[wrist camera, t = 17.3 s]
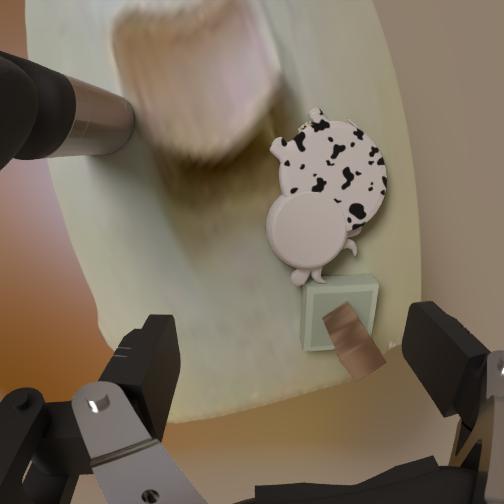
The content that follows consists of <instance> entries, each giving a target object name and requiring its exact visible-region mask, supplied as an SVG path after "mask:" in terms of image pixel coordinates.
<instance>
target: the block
mask: <svg viewBox="0 0 504 504" xmlns="http://www.w3.org/2000/svg"><path fill="white" fill-rule="evenodd" d="M322 320H323V322H324V324H325V326H326V329H327V331H328V333H329V336H330V338H331V340H332V343H333V345H334V347H335V350H336V352H337V355H338V357H339V359H340V362H341V363H342V364H343V366H344V367H345V368H346V369H347V371H348V372H349V373H350V374H351V376H352V377H353V378H354V380H355V381H356V382H357V381H359V380H361V379H362V378H364V377H365V376H367V375H369V374H370V373H372V372H373V371H375V370H376V369H378V368H379V367H381V366H382V365H384V364H385V363H386V361H385V359H384V358H383V356H382V354H381V353H380V351H379V349H378V348H377V346H376V345H375V343H374V341H373V340H372V338H371V337H370V335H369V333H368V332H367V330H366V329H365V327H364V325H363V324H362V322H361V321H360V319H359V318H358V316H357V315H356V313H355V312H354V310H353V309H352V307H351V306H350V304H349V303H348V301H346V302H344V303H343V304H342V305H340V306H339V307H337V308H336V309H334V310H333V311H331V312H330V313H328V314H327V315H325V316H324V317H322Z"/></svg>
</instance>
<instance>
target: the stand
mask: <svg viewBox="0 0 504 504" xmlns="http://www.w3.org/2000/svg"><path fill="white" fill-rule="evenodd" d="M321 277H322V279H323V280H325V281H326V282H327V283H318V282H316V281H315V280H314V279H313V278H312V277H308V279H307V281H306V283H305V284H303V285H302V307H301V327H300V340H301V344H302V348H303V351H304V352H306V351H320V350H332V349H335V347H334V345H333V343H332V340H331V338H330V336H329V333H328V331H327V329H326V326H325V324H324V322H323V320H322V317H324V316H325V315H327V314H328V313H330V312H331V311H333V310H334V309H336V308H337V307H339V306H340V305H342V304H343V303H344V302H346V301H348V303H349V304H350V306H351V307H352V309H353V310H354V312H355V313H356V315H357V316H358V318H359V319H360V321H361V322H362V324H363V325H364V327H365V329H366V330H367V332H368V333H369V335H370V337H371V334H372V328H373V322H374V316H375V309H376V303H377V295H378V288H379V283H378V282H377V281H376V280H375V279H374V278H373V277H372V276H371V275H370V274H358V275H337V276H321Z"/></svg>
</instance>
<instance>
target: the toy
mask: <svg viewBox="0 0 504 504" xmlns="http://www.w3.org/2000/svg"><path fill="white" fill-rule="evenodd" d="M308 115H309V118H310V119H311V121H309V122H307V123H305V124H303V125H302V126H301V127H300V128H299V129H298V130H299V134H298V135H297V136H296V137H294V138H293V139H292V140H291V141H289V142H286V141H285V140H284V139H283V138H282V137H279V138H277V139H275V140H274V141H273V143H272V146H271V148H270V152H271V153H272V154H273V155H275V156H276V157H277V158H278V159H279V160H280V162H281V163H280V168H279V181H280V187H281V191H282V195H281V196H279V197H278V198H277V199H276V201H275V202H274V203H273V205H272V206H271V208H270V210H269V212H268V215H267V219H266V228H265V229H266V236H267V240H268V243H269V245H270V247H271V249H272V250H273V252H274V253H275V254H276V256H277V257H278V258H280V259H281V260H282V261H283V262H284V263H286V264H288V265H290V266H292V267H295V268H297V269H296V270H294V271H293V272H292V273H291V275H290V280H291V282H292V283H293V284H294V285H296V286H301V285H303V284H305V283H306V281H307V279H308V277H309V275H310V274H311V276H312V278H313V279H314V280H315V281H316V282H318V283H327V282H326V281H325V280H323V279H322V277H321V271H322V268H323V266H324V265H325V264H327V263H329V262H330V261H331V260H332V259H334V258H335V257H336V256H337V255H338V253H339V252H340V251H341V250H342V249H346V248H349V249H350V250H351V251H352V253H353V255H354V256H356V254H357V247H356V244H355V242H354V241H353V240H351V239H348V238H349V237H353V236H356V235H358V234H359V233H360V232H361V230H362V226H363V225H364V224H366V223H367V222H368V221H369V220H370V219H371V218H372V217H373V216H374V215H375V214H376V212H377V211H378V209H379V208H380V206H381V204H382V201H383V199H384V196H385V191H386V185H387V175H386V167H385V164H384V160H383V157H382V155H381V153H380V151H379V149H378V148H377V146H376V145H375V143H374V142H373V141H372V140H371V139H370V137H369V136H368V135H366V134H365V133H364V132H363V131H362V130H361V129H360V128H359V127H358V126H357V125H356V124H354V123H353V122H352V121H351V120H350V119H348V118H347V119H348V120H349V121H350V123H351V124H352V125H350V124H348V123H345V122H340V121H329V120H327V118H326V117H325V115H324V114H323V112H322V111H321V110H320V109H319V108H314V109H313V110H311V111H310V112H309V114H308Z"/></svg>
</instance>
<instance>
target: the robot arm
mask: <svg viewBox="0 0 504 504" xmlns="http://www.w3.org/2000/svg"><path fill="white" fill-rule="evenodd" d="M133 127H134V113H133V110H132V107H131V106H130V104H129V103H128V102H127V101H126V100H125V99H124V98H122V97H121V96H119V95H116V94H114V93H111V92H109V91H107V90H104V89H101V88H99V87H96V86H94V85H91V84H89V83H86V82H83V81H81V80H78V79H75V78H72V77H69V76H66V75H64V74H61V73H59V72H56V71H53V70H51V69H48V68H46V67H44V66H41V65H39V64H37V63H34V62H32V61H29V60H26V59H23V58H20V57H17V56H14V55H11V54H8V53H5V52H2V51H0V170H1V169H2V168H4V166H5V165H7V163H8V162H9V161H10V160H11V159H12V158H15V159H19V160H34V159H41V158H53V157H64V156H79V155H100V154H110V153H113V152H115V151H117V150H118V149H120V148H121V147H122V146H123V145H124V144H125V143H126V142H127V141H128V139H129V138H130V136H131V134H132V131H133ZM402 353H403V356H404V358H405V360H406V361H407V362H408V364H409V365H410V367H411V368H412V370H413V371H414V373H415V374H416V375H417V377H418V379H419V380H420V382H421V383H422V385H423V386H424V388H425V389H426V391H427V392H428V394H429V395H430V396H431V398H432V400H433V401H434V403H435V404H436V406H437V407H438V409H439V411H440V412H441V414H442V415H443V417H444V418H445V417H448V416H452V415H455V414H459V416H460V417H461V418H460V420H459V422H458V425H457V430H456V435H455V440H454V444H453V449H452V453H451V457H450V461H449V464H448V466H438V464H437V462H436V460H435V458H434V456H430V457H426V458H423V459H420V460H416V461H413V462H409V463H406V464H402V465H398V466H395V467H393V468H391V469H389V470H387V471H385V472H383V473H381V474H379V475H377V476H375V477H373V478H370V479H368V480H366V481H364V482H361V483H359V484H356V485H329V484H314V483H295V484H282V485H262V486H255V498H251V499H247V500H243V501H240V502H237V503H234V504H504V351H502V350H498V351H493V352H490V351H489V350H488V349H487V348H486V347H485V346H484V345H483V344H482V343H481V342H480V341H479V340H478V339H477V338H476V337H474V335H473V334H470V332H469V331H468V330H467V329H466V328H464V327H463V325H462V324H461V323H460V322H459V321H458V320H457V319H455V318H453V317H451V316H450V315H448V314H446V313H445V312H444V311H442V309H440V308H439V307H438V306H437V305H436V304H435V303H434V302H433V301H425V302H416V303H412V304H411V305H410V307H409V311H408V316H407V321H406V326H405V331H404V335H403V339H402ZM180 365H181V361H180V351H179V345H178V339H177V333H176V326H175V320H174V317H173V315H153V314H151V315H149V316H148V318H147V320H146V322H145V323H144V325H143V327H142V329H134V330H132V331H131V332H130V333H128V334H127V335H126V336H124V337H123V339H122V341H121V342H120V344H119V346H118V348H117V349H116V351H115V352H114V356H113V357H112V358H111V359H110V361H109V363H108V364H107V366H106V368H105V370H104V371H103V373H102V375H101V377H100V379H99V380H98V382H94V383H90V384H87V385H85V386H83V387H81V388H80V389H79V390H78V391H77V392H76V393H75V394H74V396H73V398H72V401H66V402H51V403H46V402H45V400H44V398H43V396H42V394H41V393H40V392H39V391H38V390H36V389H34V388H28V387H27V388H20V389H16V390H14V391H12V392H10V393H9V394H7V395H6V396H5V397H4V398H3V400H2V401H1V402H0V504H70V502H71V499H72V496H73V493H74V490H75V487H76V484H77V481H78V478H79V475H81V474H82V475H83V474H94V475H95V477H96V479H97V482H98V483H99V486H100V488H101V490H102V492H103V494H104V496H105V499H106V501H107V502H108V504H208V503H207V502H206V500H205V499H204V498H203V497H202V496H201V495H200V494H199V492H198V491H197V490H196V489H195V487H194V486H193V485H192V484H191V483H190V481H189V480H188V479H187V477H186V476H185V475H184V474H183V472H182V471H181V470H180V468H179V467H178V466H177V464H176V463H175V462H174V461H173V459H172V458H171V456H170V455H169V454H168V452H167V451H166V449H165V448H164V447H163V445H162V444H161V442H162V438H163V434H164V430H165V426H166V422H167V418H168V415H169V411H170V407H171V403H172V399H173V396H174V392H175V388H176V384H177V381H178V377H179V373H180ZM30 460H31V461H32V464H31V466H30V468H29V470H28V472H27V475H26V477H25V479H24V482H23V484H22V479H23V476H24V473H25V471H26V469H27V467H28V464H29V462H30Z"/></svg>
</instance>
